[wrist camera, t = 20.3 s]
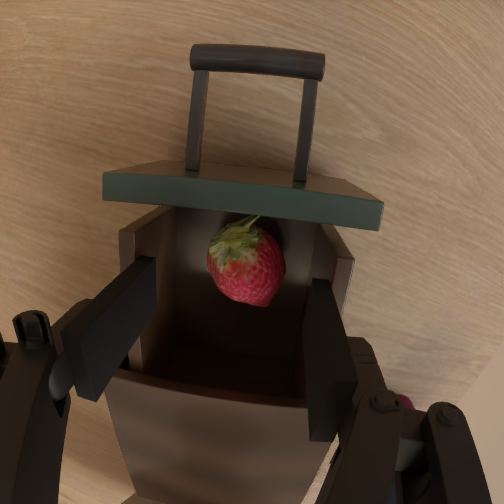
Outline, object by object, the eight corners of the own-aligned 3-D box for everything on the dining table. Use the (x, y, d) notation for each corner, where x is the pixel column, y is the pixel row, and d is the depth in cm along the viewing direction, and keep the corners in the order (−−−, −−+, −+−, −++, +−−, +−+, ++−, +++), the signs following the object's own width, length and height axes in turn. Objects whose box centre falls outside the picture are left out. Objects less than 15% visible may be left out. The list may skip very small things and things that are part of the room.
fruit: (229, 304, 21) (216, 348, 16) (204, 216, 19) (181, 241, 15) (293, 293, 21) (297, 337, 16) (274, 201, 19) (273, 222, 14)
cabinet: (156, 293, 24) (99, 373, 15) (325, 315, 23) (346, 410, 14) (165, 420, 28) (137, 496, 19) (291, 438, 28) (291, 520, 19)
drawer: (172, 66, 17) (116, 30, 10) (356, 82, 17) (401, 50, 10) (162, 340, 24) (124, 409, 17) (309, 360, 24) (317, 439, 16)
